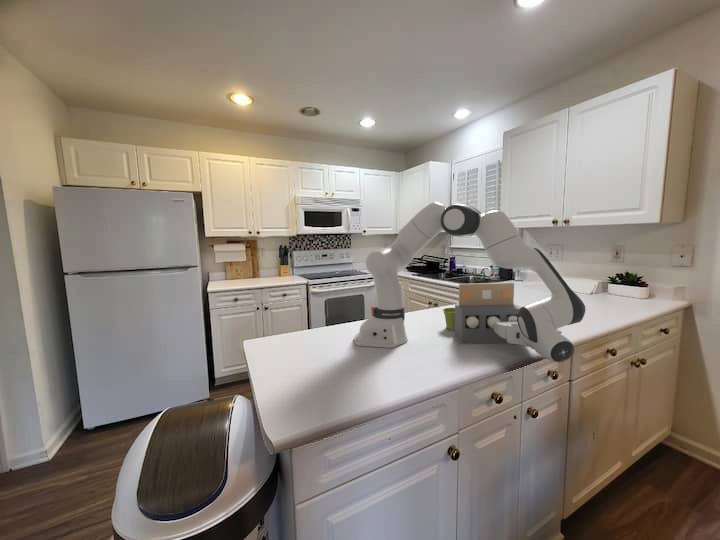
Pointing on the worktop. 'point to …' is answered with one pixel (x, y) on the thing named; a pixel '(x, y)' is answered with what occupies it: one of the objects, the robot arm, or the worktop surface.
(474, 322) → the left button
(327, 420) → the worktop surface
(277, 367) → the worktop surface
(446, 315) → the plant pot
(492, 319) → the middle button
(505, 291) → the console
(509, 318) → the right button
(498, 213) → the robot arm
